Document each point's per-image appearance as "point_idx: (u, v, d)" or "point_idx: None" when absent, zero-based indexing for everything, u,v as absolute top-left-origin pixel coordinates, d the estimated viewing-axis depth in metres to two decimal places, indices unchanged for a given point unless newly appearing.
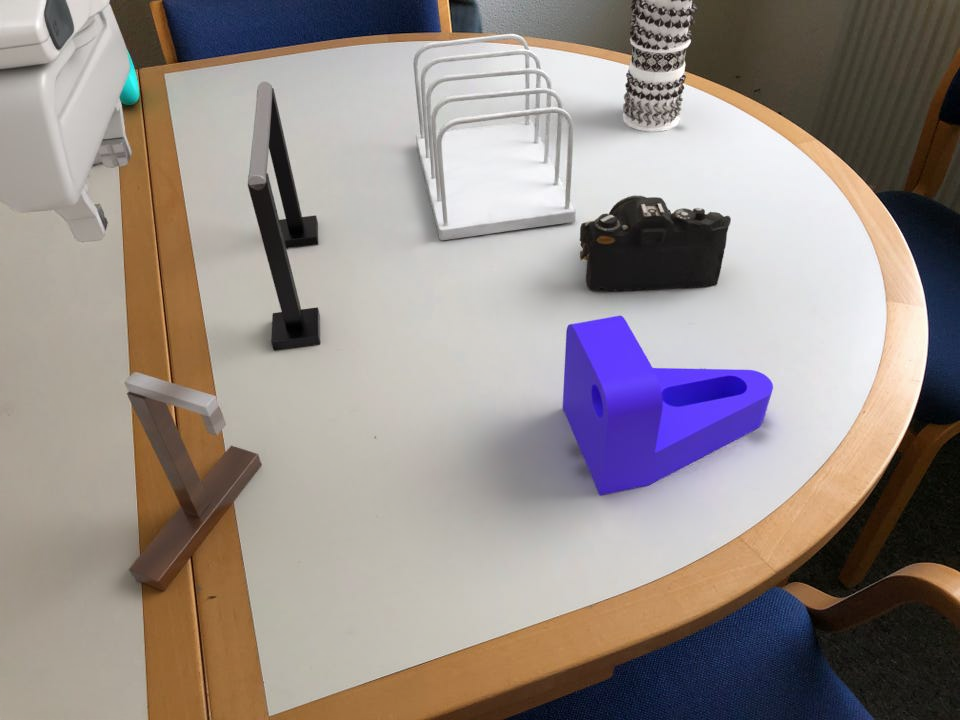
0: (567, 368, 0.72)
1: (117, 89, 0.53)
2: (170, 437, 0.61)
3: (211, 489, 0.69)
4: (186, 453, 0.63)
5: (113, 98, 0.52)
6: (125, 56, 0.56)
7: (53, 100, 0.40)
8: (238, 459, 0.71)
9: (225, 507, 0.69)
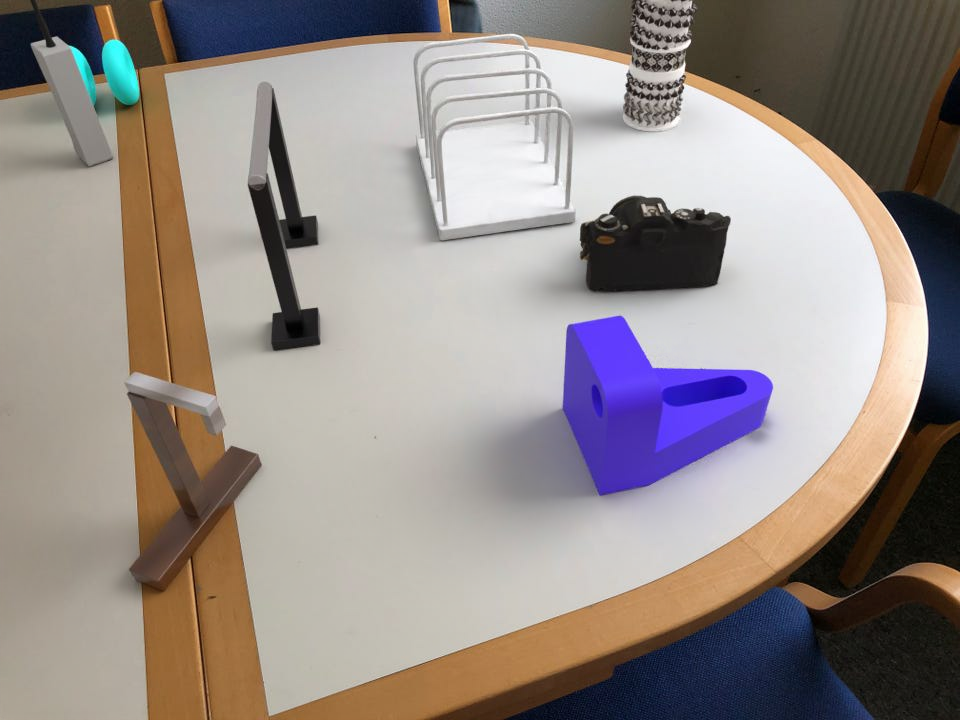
0: (567, 368, 0.72)
1: None
2: (170, 437, 0.61)
3: (211, 489, 0.69)
4: (186, 453, 0.63)
5: None
6: None
7: None
8: (238, 459, 0.71)
9: (225, 507, 0.69)
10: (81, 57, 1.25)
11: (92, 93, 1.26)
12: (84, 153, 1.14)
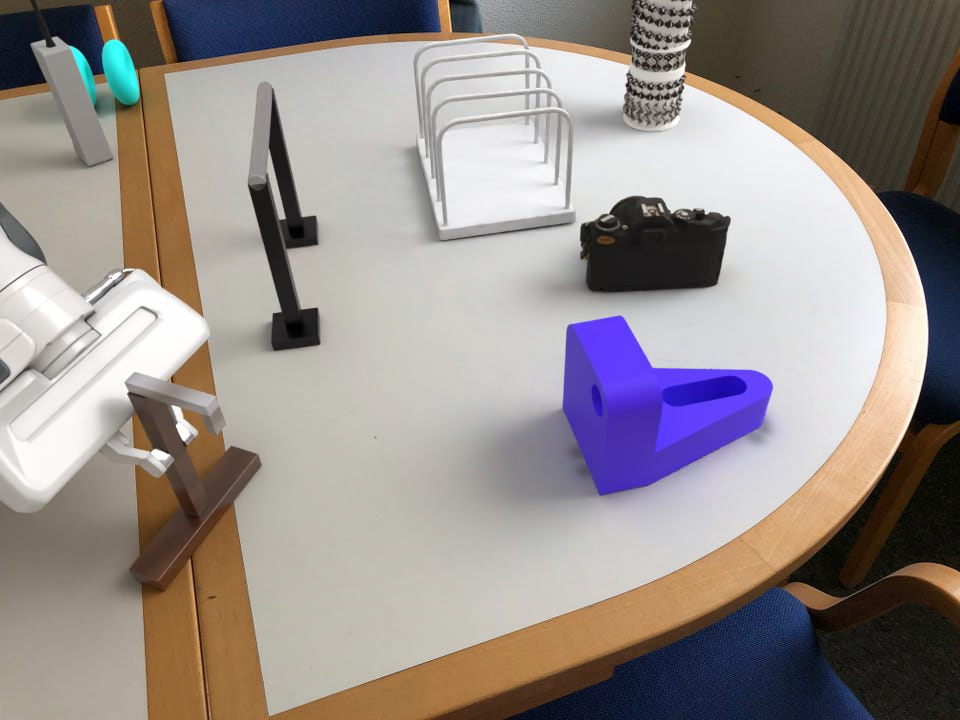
0: (567, 368, 0.72)
1: (165, 367, 0.63)
2: (170, 437, 0.61)
3: (211, 489, 0.69)
4: (186, 453, 0.63)
5: None
6: (195, 328, 0.65)
7: None
8: (238, 459, 0.71)
9: (225, 507, 0.69)
10: (81, 57, 1.25)
11: (92, 93, 1.26)
12: (84, 153, 1.14)
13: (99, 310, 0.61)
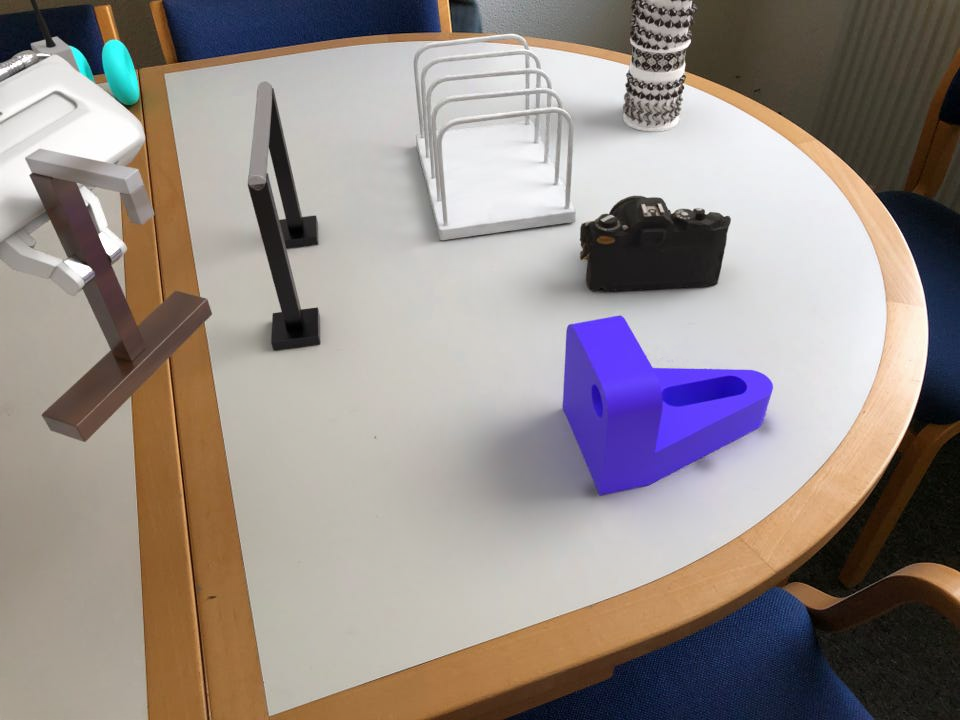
0: (567, 368, 0.72)
1: None
2: (89, 244, 0.49)
3: (148, 333, 0.57)
4: (112, 271, 0.52)
5: None
6: (125, 126, 0.54)
7: None
8: (182, 304, 0.60)
9: (166, 355, 0.57)
10: (81, 57, 1.25)
11: None
12: None
13: (1, 86, 0.49)
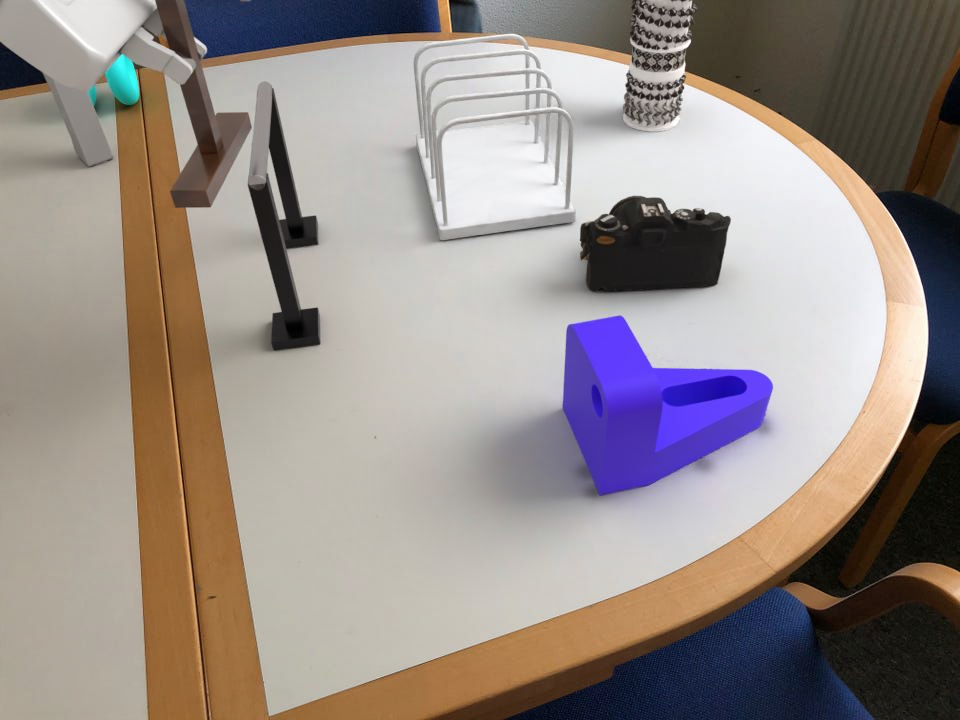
0: (567, 368, 0.72)
1: None
2: (190, 39, 0.62)
3: None
4: (201, 68, 0.65)
5: None
6: None
7: None
8: (230, 118, 0.73)
9: (236, 152, 0.71)
10: None
11: (92, 93, 1.26)
12: (84, 153, 1.14)
13: None
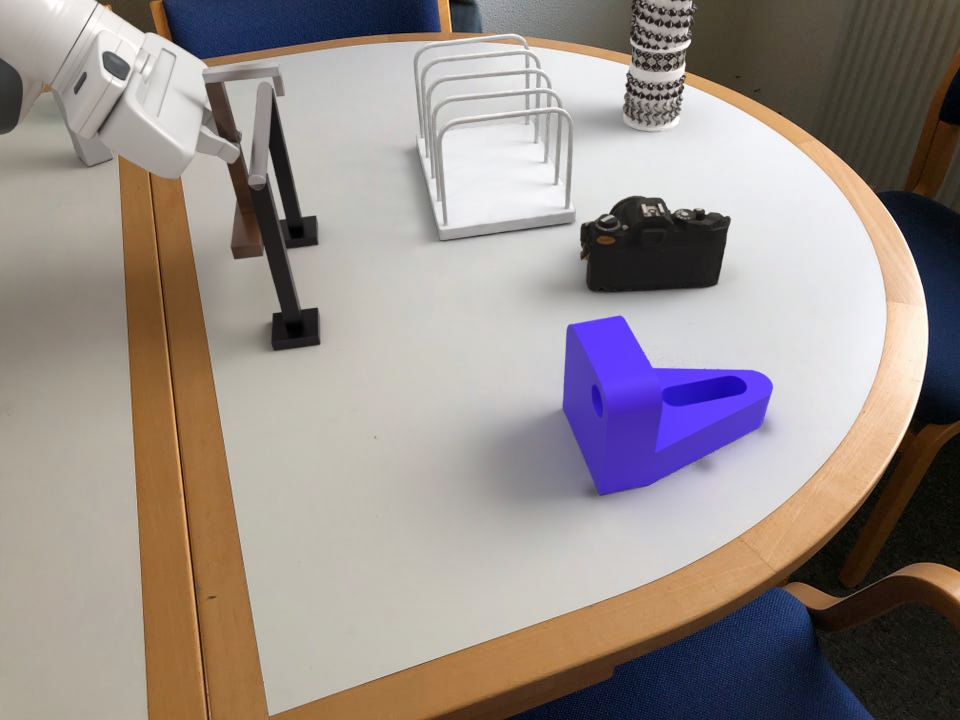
0: (567, 368, 0.72)
1: (202, 86, 0.81)
2: (234, 127, 0.80)
3: None
4: (241, 148, 0.82)
5: (200, 91, 0.80)
6: (201, 65, 0.83)
7: (139, 107, 0.68)
8: None
9: None
10: None
11: None
12: (84, 153, 1.14)
13: None
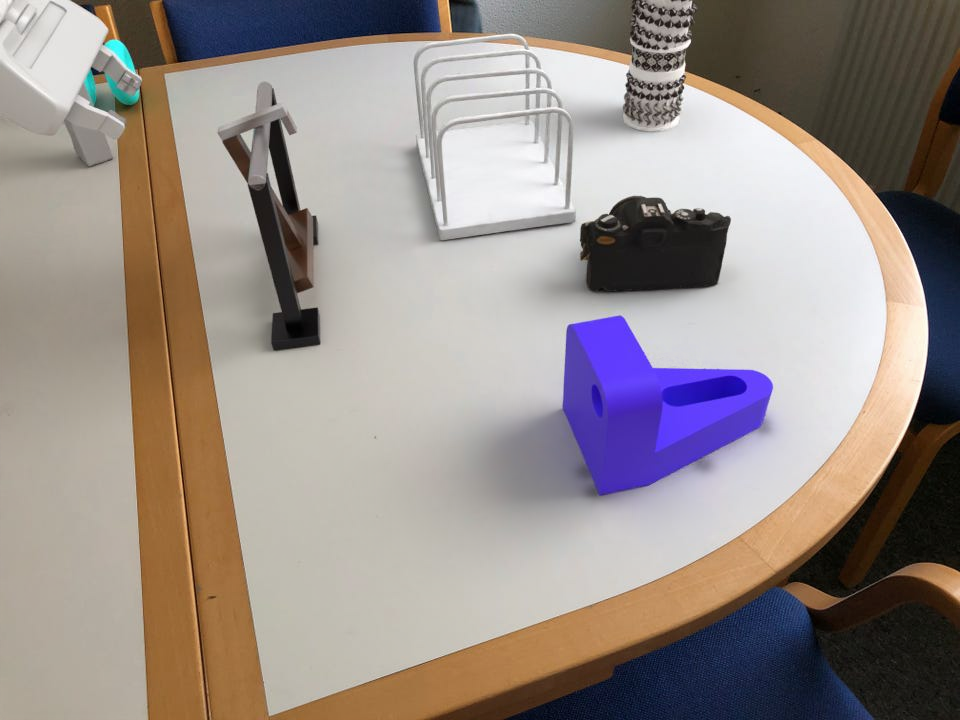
0: (567, 368, 0.72)
1: (92, 41, 0.77)
2: None
3: None
4: None
5: (89, 47, 0.76)
6: (96, 21, 0.80)
7: (6, 56, 0.65)
8: (296, 216, 0.94)
9: (311, 240, 0.92)
10: None
11: (92, 93, 1.26)
12: (84, 153, 1.14)
13: None
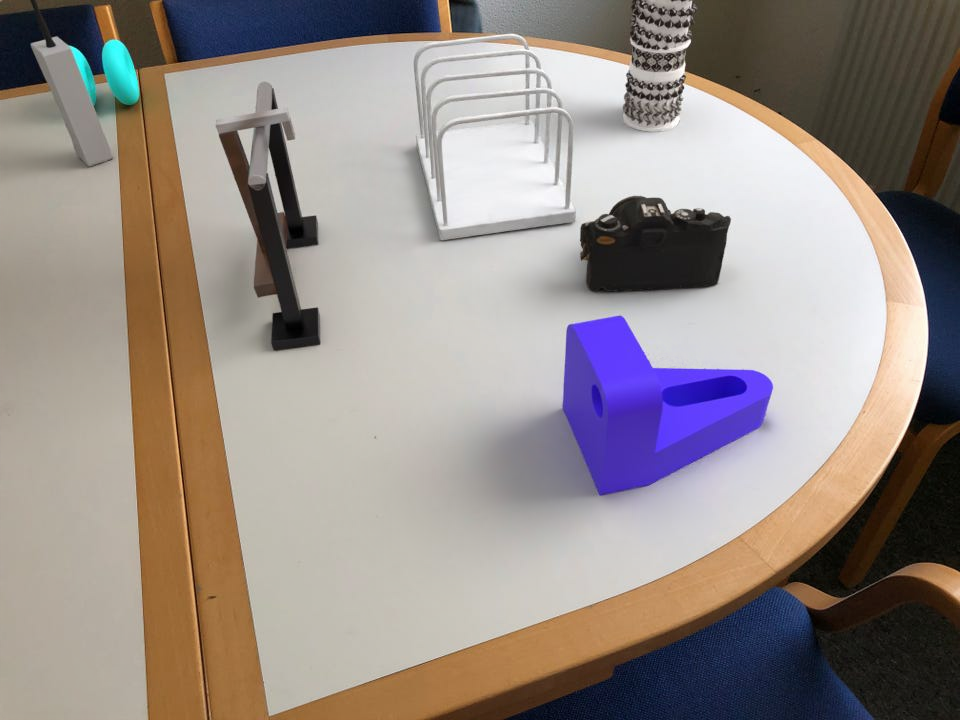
0: (567, 368, 0.72)
1: None
2: None
3: None
4: None
5: None
6: None
7: None
8: None
9: (285, 245, 0.92)
10: (81, 57, 1.25)
11: (92, 93, 1.26)
12: (84, 153, 1.14)
13: None
